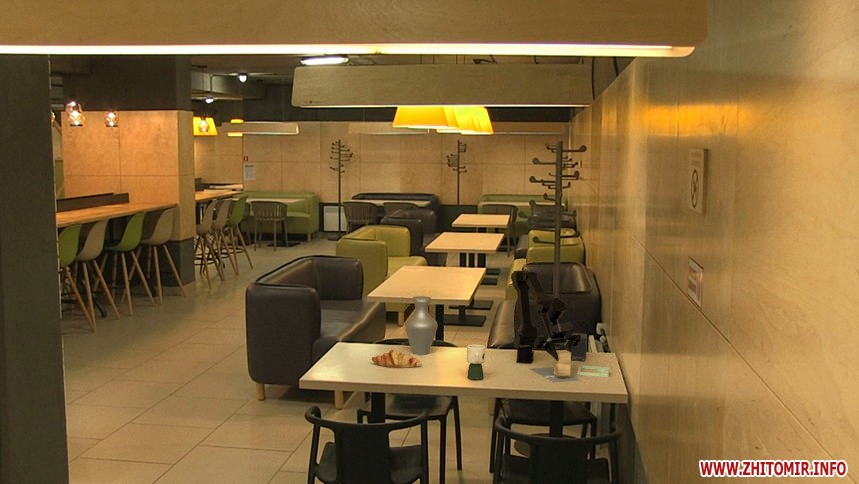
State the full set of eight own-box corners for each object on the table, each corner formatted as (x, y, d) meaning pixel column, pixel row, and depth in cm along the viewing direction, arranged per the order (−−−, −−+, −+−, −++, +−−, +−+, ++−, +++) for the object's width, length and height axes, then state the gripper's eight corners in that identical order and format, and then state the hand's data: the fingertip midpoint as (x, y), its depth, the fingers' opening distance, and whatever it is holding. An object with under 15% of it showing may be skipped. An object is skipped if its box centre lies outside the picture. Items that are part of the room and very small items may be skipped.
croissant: (422, 373, 349) (424, 355, 352) (420, 367, 340) (422, 348, 343) (372, 370, 352) (374, 351, 355) (368, 364, 343) (371, 345, 346)
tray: (577, 378, 334) (577, 371, 334) (578, 371, 346) (579, 365, 345) (608, 380, 331) (608, 374, 331) (608, 373, 343) (609, 367, 343)
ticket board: (528, 372, 342) (528, 368, 342) (555, 370, 345) (555, 366, 345) (553, 386, 321) (553, 381, 321) (581, 384, 325) (581, 380, 325)
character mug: (485, 382, 324) (486, 349, 323) (467, 382, 324) (468, 349, 323) (483, 375, 335) (484, 343, 334) (465, 375, 335) (466, 343, 333)
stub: (553, 373, 328) (554, 350, 327) (565, 372, 330) (566, 350, 329) (558, 376, 325) (559, 353, 324) (570, 375, 326) (571, 352, 325)
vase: (436, 357, 364) (438, 300, 362) (403, 356, 364) (404, 299, 362) (437, 350, 378) (438, 295, 376) (405, 349, 378) (406, 294, 376)
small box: (585, 361, 362) (586, 337, 362) (570, 360, 364) (571, 336, 363) (586, 356, 373) (587, 333, 372) (571, 355, 374) (572, 332, 373)
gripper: (537, 315, 326) (549, 349, 316) (580, 313, 332) (593, 347, 322) (528, 331, 334) (539, 365, 325) (570, 329, 340) (582, 362, 331)
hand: (564, 359), depth 325 cm, fingers closed on stub, 5 cm apart
